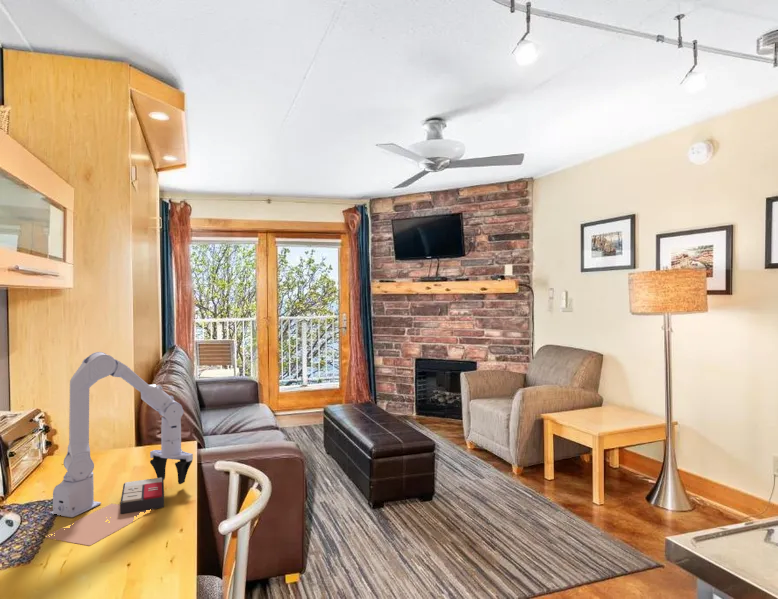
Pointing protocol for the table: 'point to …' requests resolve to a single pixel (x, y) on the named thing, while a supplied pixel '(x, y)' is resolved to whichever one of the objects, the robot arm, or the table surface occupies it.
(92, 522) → the mat
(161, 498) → the black white red box
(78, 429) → the robot arm
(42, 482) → the table surface
